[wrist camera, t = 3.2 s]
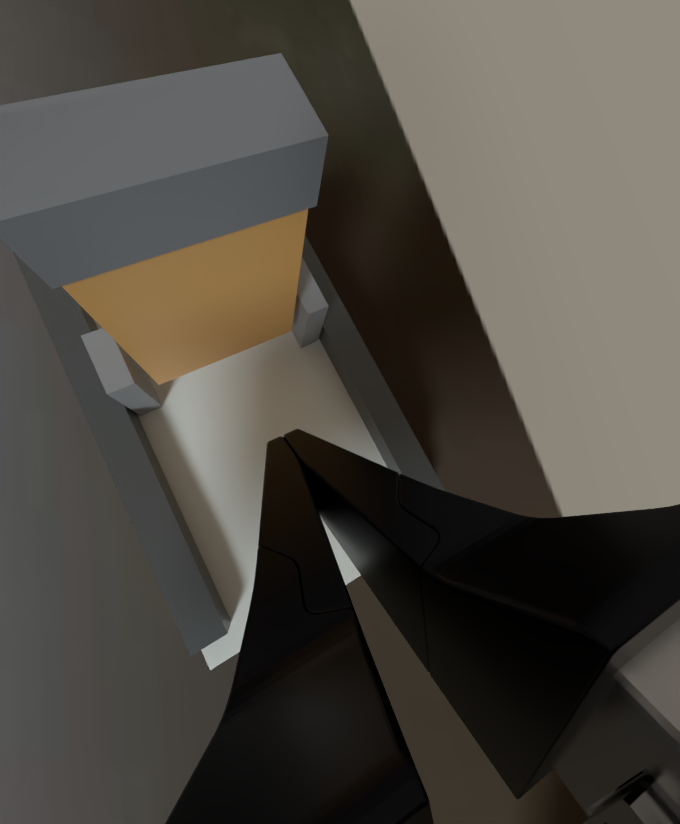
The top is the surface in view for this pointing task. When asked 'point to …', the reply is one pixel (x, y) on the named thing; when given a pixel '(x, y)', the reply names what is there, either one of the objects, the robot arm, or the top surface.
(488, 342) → the top surface
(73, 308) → the tray
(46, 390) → the top surface
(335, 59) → the top surface
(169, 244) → the lever
